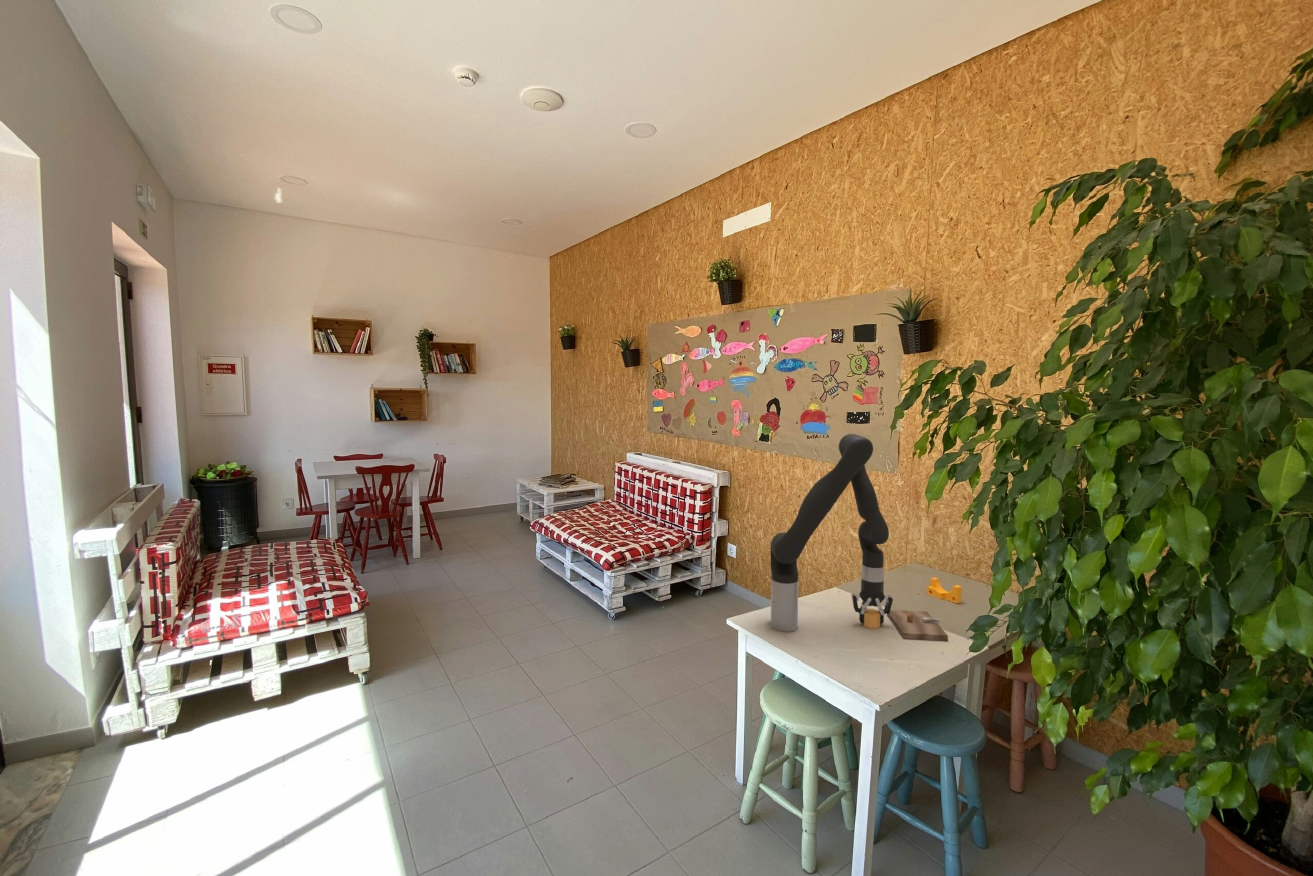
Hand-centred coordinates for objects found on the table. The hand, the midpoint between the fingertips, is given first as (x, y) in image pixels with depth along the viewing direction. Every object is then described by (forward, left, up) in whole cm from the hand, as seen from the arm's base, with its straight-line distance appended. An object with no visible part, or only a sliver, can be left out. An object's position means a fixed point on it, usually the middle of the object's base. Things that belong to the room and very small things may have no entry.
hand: (871, 623), depth 192 cm
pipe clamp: (+35, +31, -1) cm, 47 cm away
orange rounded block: (0, 0, 0) cm, 0 cm away
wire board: (+15, 0, 0) cm, 15 cm away
